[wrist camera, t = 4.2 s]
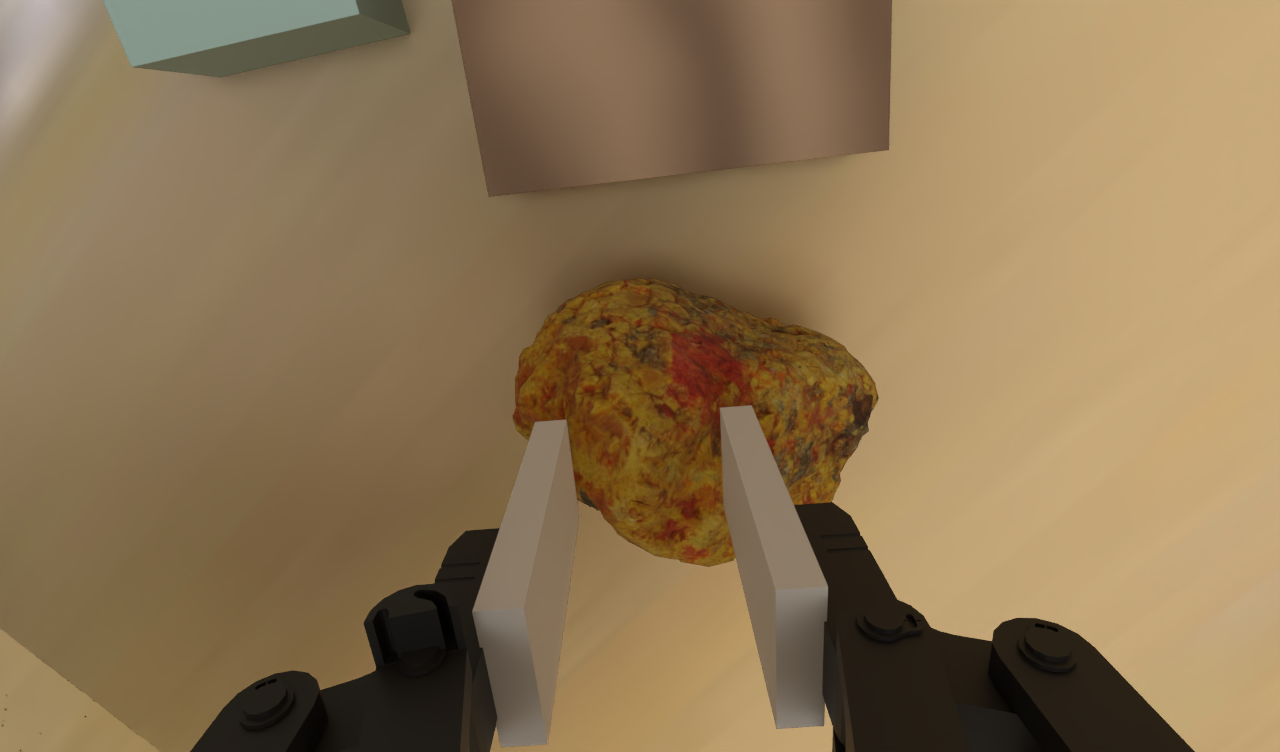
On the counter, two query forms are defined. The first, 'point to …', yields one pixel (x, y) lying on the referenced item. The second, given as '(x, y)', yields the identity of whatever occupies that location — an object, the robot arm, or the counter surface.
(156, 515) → the counter surface
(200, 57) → the teal block
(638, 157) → the walnut block
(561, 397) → the rock
